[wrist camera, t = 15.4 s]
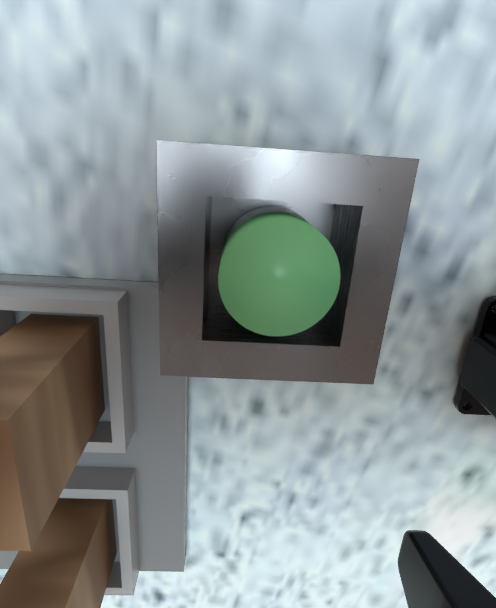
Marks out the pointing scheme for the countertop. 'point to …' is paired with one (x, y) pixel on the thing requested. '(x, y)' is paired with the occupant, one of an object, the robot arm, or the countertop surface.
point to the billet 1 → (44, 416)
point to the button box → (315, 210)
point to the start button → (277, 272)
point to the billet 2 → (65, 559)
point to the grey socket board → (122, 419)
